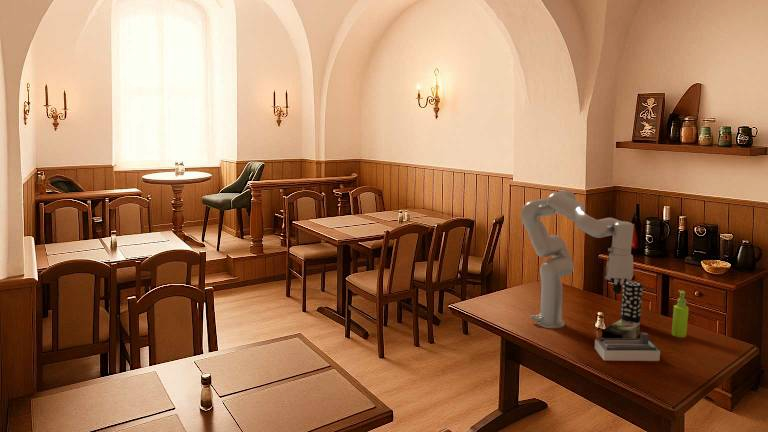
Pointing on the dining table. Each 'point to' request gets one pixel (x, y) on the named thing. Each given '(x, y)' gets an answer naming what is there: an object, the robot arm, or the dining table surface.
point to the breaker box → (626, 350)
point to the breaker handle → (644, 338)
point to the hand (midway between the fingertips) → (616, 292)
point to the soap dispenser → (680, 317)
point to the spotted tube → (631, 301)
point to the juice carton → (622, 329)
